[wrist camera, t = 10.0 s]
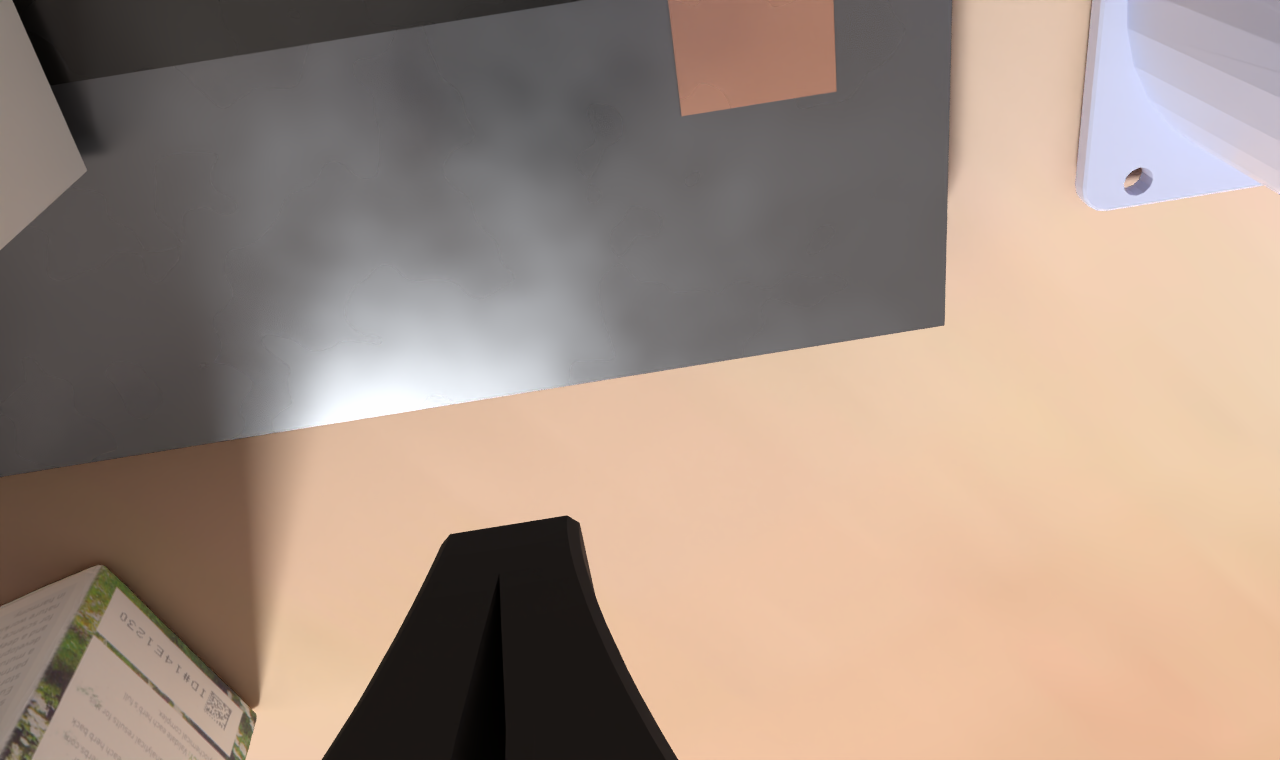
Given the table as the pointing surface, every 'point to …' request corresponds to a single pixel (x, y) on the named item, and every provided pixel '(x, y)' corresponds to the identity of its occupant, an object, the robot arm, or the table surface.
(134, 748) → the syrup box
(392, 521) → the table surface
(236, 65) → the breaker panel
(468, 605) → the robot arm
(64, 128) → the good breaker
